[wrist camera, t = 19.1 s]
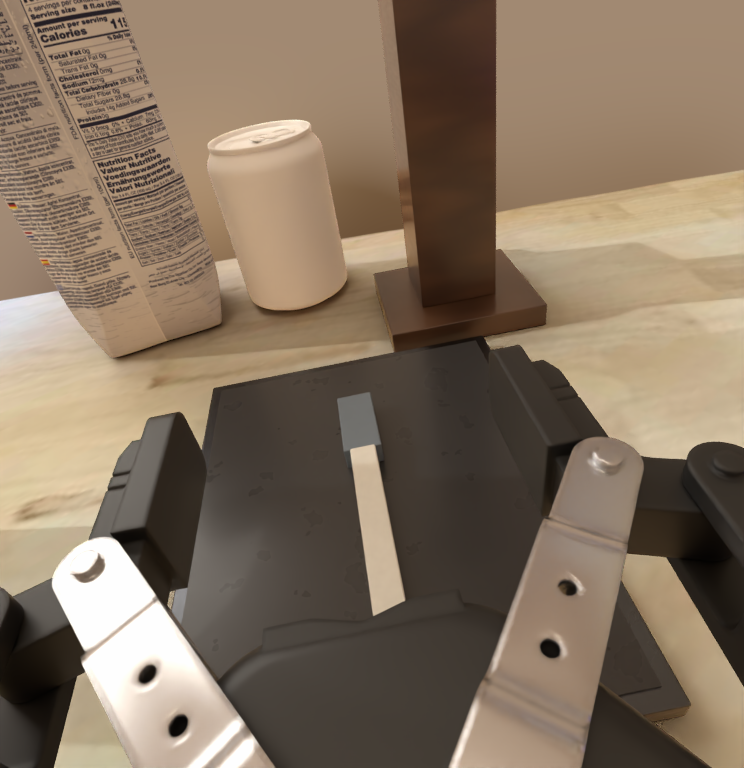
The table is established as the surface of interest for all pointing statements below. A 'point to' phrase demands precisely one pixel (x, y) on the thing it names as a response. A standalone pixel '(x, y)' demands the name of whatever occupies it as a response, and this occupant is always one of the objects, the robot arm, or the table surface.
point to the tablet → (404, 501)
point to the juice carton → (99, 176)
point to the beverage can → (279, 213)
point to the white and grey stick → (371, 499)
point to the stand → (447, 178)
